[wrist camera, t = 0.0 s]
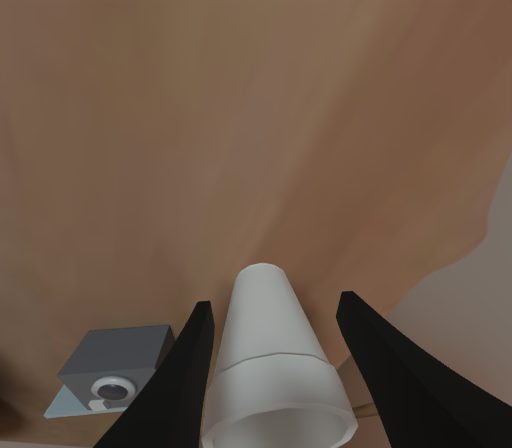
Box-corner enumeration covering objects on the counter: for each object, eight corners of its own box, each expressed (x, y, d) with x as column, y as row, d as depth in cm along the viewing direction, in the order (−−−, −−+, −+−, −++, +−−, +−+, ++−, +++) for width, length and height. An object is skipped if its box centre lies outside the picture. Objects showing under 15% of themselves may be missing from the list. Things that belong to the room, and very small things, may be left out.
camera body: (181, 360, 29) (169, 410, 24) (111, 366, 29) (84, 418, 24) (169, 325, 26) (151, 374, 21) (89, 330, 25) (50, 383, 20)
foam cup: (275, 318, 27) (301, 469, 15) (209, 299, 24) (181, 462, 13) (315, 267, 23) (390, 414, 11) (242, 239, 21) (245, 389, 9)
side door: (181, 368, 29) (172, 406, 26) (73, 377, 29) (46, 418, 25) (180, 365, 29) (170, 403, 25) (70, 374, 28) (43, 415, 24)
